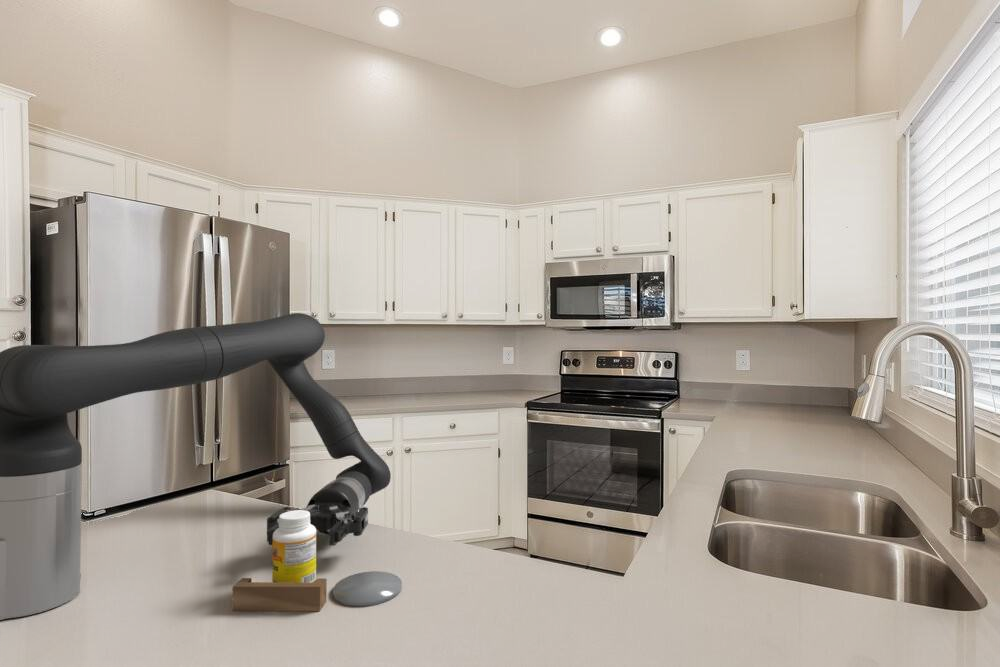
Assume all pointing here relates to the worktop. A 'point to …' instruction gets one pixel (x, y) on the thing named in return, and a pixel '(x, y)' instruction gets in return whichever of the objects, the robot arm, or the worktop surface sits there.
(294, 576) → the supplement bottle
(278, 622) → the worktop surface
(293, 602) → the cradle
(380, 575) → the smooth stone
